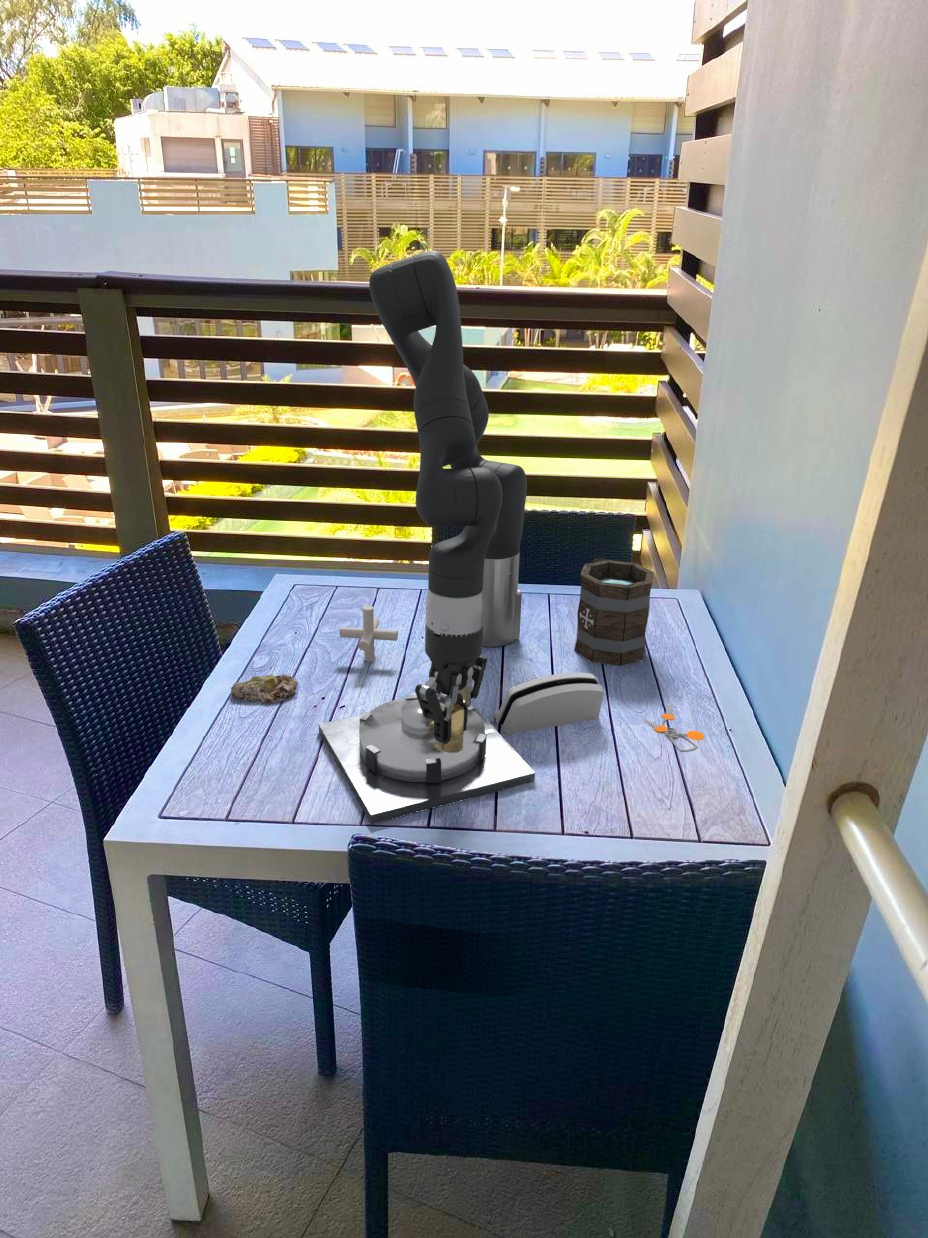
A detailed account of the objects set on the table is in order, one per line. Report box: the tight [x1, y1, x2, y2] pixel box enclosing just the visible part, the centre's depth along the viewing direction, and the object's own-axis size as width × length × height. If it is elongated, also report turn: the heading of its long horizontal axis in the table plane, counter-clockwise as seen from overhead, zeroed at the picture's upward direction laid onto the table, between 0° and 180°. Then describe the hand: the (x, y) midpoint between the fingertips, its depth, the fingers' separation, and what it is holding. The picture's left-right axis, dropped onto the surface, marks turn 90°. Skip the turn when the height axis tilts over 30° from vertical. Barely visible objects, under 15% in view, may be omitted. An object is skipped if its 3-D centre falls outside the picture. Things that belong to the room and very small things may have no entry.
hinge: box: [492, 672, 604, 737], centre depth 133 cm, size 17×5×10 cm, turn 111°
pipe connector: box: [339, 605, 399, 662], centre depth 151 cm, size 10×10×10 cm
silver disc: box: [359, 694, 487, 783], centre depth 123 cm, size 18×19×9 cm
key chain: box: [642, 705, 705, 753], centre depth 134 cm, size 13×7×1 cm, turn 19°
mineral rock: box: [230, 673, 299, 704], centre depth 142 cm, size 11×4×8 cm
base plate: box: [318, 702, 536, 825], centre depth 125 cm, size 24×24×2 cm
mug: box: [573, 557, 655, 667], centre depth 159 cm, size 20×14×15 cm
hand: (450, 735), depth 119 cm, fingers closed on silver disc, 3 cm apart
